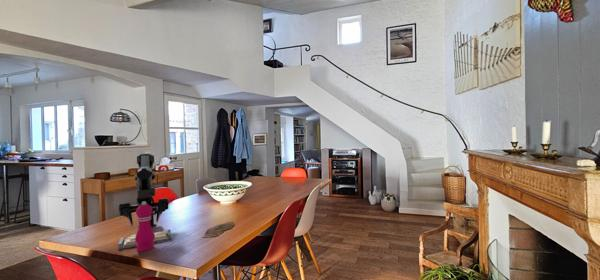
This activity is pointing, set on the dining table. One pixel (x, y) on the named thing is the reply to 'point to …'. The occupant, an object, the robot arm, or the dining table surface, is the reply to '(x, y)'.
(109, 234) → the dining table surface
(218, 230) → the wooden fragment
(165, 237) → the birch offcut stack
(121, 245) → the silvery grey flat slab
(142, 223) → the pepper mill
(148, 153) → the robot arm
